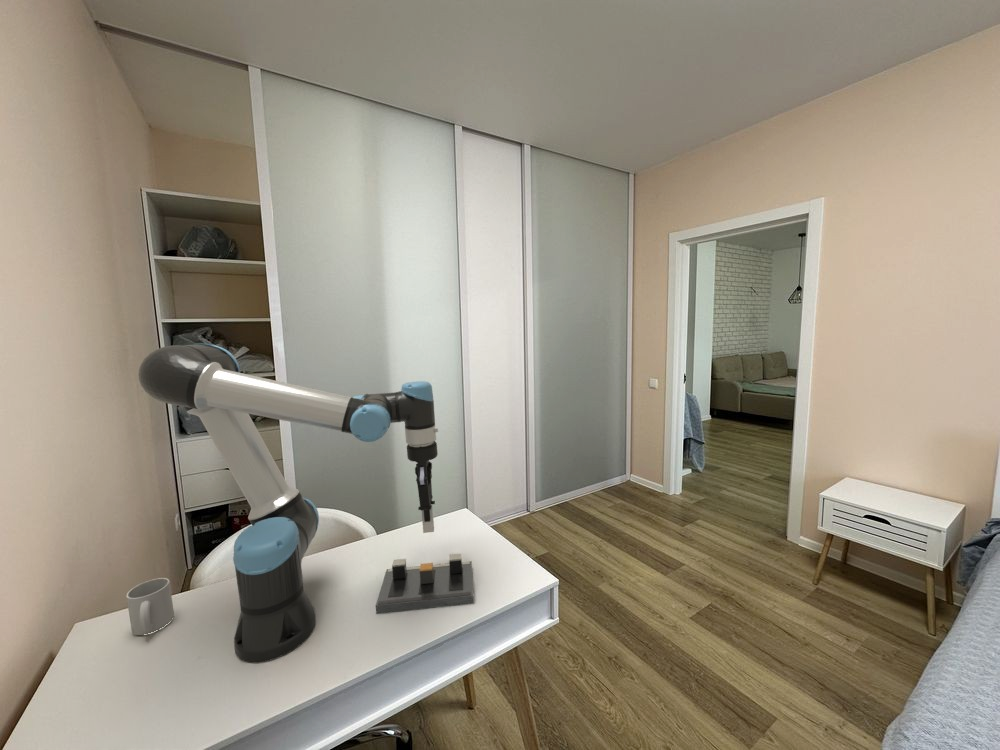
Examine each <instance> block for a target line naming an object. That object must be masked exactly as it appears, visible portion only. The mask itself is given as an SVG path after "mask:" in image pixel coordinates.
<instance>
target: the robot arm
mask: <svg viewBox="0 0 1000 750" xmlns="http://www.w3.org/2000/svg"><path fill="white" fill-rule="evenodd" d="M138 381H139V384H140V387H142V389H143V391H145V392H146V394H148V396H150V397H151V398H152V399H154V400H156V401H159V402H162V403H165V404H169V405H173V406H178V407H179V406H180V407H183V408H184V410H185V412H186V413H187V414H190V415H192V416H193V415H194V416H197V417H199V419H200V421H201V422H202V425H203V426H204V428H205V431H207V433H208V434H209V437H210V438H211V440H212V442H213V444H214V445H215V447H216V449H217V451H218V452H219V454H220V456H221V457H222V459H223V461H224V463H225V464H226V466H227V468H228V469H229V471H230V473H231V474H232V476H233V478H234V480H235V482H236V484H237V485H238V487H239V489H240V490H241V493H242V494H243V496H244V498H245V499H246V500H247V503H248V504H249V506H250V512H249V514H248V517H247V519H248V521H249V523H250V524H251V525H249V526H248V527H246V528H245V529H243V531H241V532H240V534H238V536H237V537H236V538H235V540H234V545H233V557H232V558H233V559H232V561H233V564H234V569H235V576H236V577H235V578H236V585H237V591H238V598H239V599H238V600H239V605H240V606H239V607H240V612H239V613H240V614H239V616H238V617H239V618H238V622H237V625H236V629H235V633H234V637H233V646H234V651H235V655H236V657H237V658H238V659H239V660H241V661H243V662H247V663H264V662H269V661H272V660H275V659H277V658H281V657H282V656H285V655H287V654H288V653H290V652H292V651H294V650H295V649H297V648H299V647H300V646H301V645H302V644H303V643H305V641H306V640H307V639H308V638H309V637H310V636H311V635H312V633H314V630H315V627H316V624H317V616H316V611H315V610H316V609H315V608H314V605H313V604H312V602H311V600H310V598H309V596H308V595H307V593H306V591H305V588H304V581H303V580H304V577H303V569H302V560H303V558H304V556H305V554H306V552H307V550H308V549H309V546H310V544H311V542H312V541H313V539H314V538H315V536H316V534H317V531H318V528H319V522H320V521H319V520H320V514H319V511H318V508H317V507H316V505H315V504H314V503H313V502H312V501H311V500H310V499H309V498H305V497H304V496H302V494H301V492H300V490H299V489H298V488H294V487H290V486H289V485H288V482H287V481H286V479H285V478H284V475H283V474H282V472H281V470H280V469H279V466H278V465H277V463H276V461H275V459H274V458H273V456H272V454H271V452H270V450H269V448H268V447H267V445H266V443H265V441H264V439H263V438H262V436H261V433H260V432H259V430H258V428H257V427H256V424H255V423H254V421H253V419H252V418H251V416H250V415H254V416H259V417H263V418H269V419H273V420H279V421H283V422H284V421H285V422H290V423H295V424H298V425H299V424H300V425H306V426H310V427H315V428H319V429H325V430H331V431H335V432H339V433H345V434H350V435H353V436H354V437H355V439H357V440H359V441H361V442H363V443H364V442H365V443H373V442H377V441H378V440H380V439H382V438H383V437H384V436H385V435H386V433H387V432H388V429H390V425H391V424H393V423H394V424H395V423H403V422H404V433H405V435H404V436H405V443H406V444H407V445H406V453H407V454H406V457H407V460H409V461H410V462H412V463H413V462H415V463H416V464H415V466H414V473H415V475H416V480H415V481H416V485H417V490H418V491H417V492H418V498H419V499H418V501H419V506H418V511H421V521H422V522H421V523H422V532H423V534H426V533H434V532H435V520H434V509H433V508H434V507H433V505H436V503H435V502H436V501H435V500H433V488H432V477H433V476H432V475H433V474H432V469H433V462H431V460H434V459H436V458H437V456H438V444H437V442H436V440H437V434H436V433H438V432H439V429H438V428H436V419H435V403H434V402H435V401H434V394H433V386H432V384H431V383H430V382H429V381H422V380H419V381H411V382H410V381H409V382H405V383H402V385H401V389H400V391H396V392H386V393H385V392H384V393H383V392H382V393H365V394H362V395H355V396H353V397H351V396H348V395H347V396H346V395H342V394H339V393H334V392H329V391H324V390H320V389H315V388H310V387H307V386H302V385H297V384H293V383H288V382H283V381H281V380H279V381H278V380H273V379H269V378H265V377H262V376H261V377H260V376H256V375H252V374H247V373H242V372H241V371H240V365H239V362H238V360H237V358H236V357H235V356H234V355H233V353H231V352H230V351H229V350H227V349H225V348H224V347H221V346H219V345H218V346H217V345H215V344H210V343H209V344H208V343H201V342H200V343H194V344H182V345H178V344H177V345H175V344H173V345H168V346H167V345H166V346H163V347H159V348H158V349H155V350H153V351H152V352H151V353H149V354H147V356H145V358H143V360H142V362H141V363H140V366H139V368H138Z"/></svg>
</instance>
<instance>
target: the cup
mask: <svg viewBox="0 0 1000 750" xmlns="http://www.w3.org/2000/svg"><path fill="white" fill-rule="evenodd" d="M170 584H171V583H170V579H168V578H167V577H158V578H153V579H150V580H146V581H144V582H141V583H139V584H137V585H135V586H134V587H132V588H131V589H130V590H129V591H128V592H127V593H126V597H125V598H126V603H127V610H128V615H129V621H130V628H131V632H132V634H133V635H134V636H136V635H144V634H148V633H151V632H154V631H156V630H159V629H160V628H162V627H164V626H165V625H166V624H168V623H169V622H170V621H171V620H172V618H173V617H174V618H175V611H174V603H173V598H172V597H173V596H172V589H171V585H170ZM174 618H173V619H174ZM172 621H173V620H172ZM172 621H171V622H172Z"/></svg>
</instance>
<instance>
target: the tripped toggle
mask: <svg viewBox="0 0 1000 750" xmlns="http://www.w3.org/2000/svg"><path fill="white" fill-rule="evenodd" d="M433 565H434V562H427V563H425V562H424V563H420V565H419V566H420V583H421V584H428V583H433V580H434V572H433Z"/></svg>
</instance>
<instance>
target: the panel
mask: <svg viewBox="0 0 1000 750" xmlns="http://www.w3.org/2000/svg"><path fill="white" fill-rule="evenodd" d="M448 556H449V557H448V562H447V563H446V562H445V563H438V564H433V572H434V580H433V583H428V584H421V583H420V565H418V566H407V558H400V559H399V558H398V559H397V558H396V559H393V560H392V564H391V568H387V569H386V570H385V572H384V573H385V574H384V577H383V580H382V582H381V583H382V584H381V586H380V589H379V594H378V596H377V599H376V603H375V615H378V614H390V613H397V612H398V613H399V612H406V611H407V612H408V611H416V610H426V609H435V608H446V607H455V606H456V607H457V606H465V605H473V604H475V603H474V600H475V599H474V590H473V589H474V586H473V584H474V582H473V568H472V567H473V565H472V564H473V563H472V560H466V561H463V560H462V558H463V557H462V553H452V554H449V555H448Z"/></svg>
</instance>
